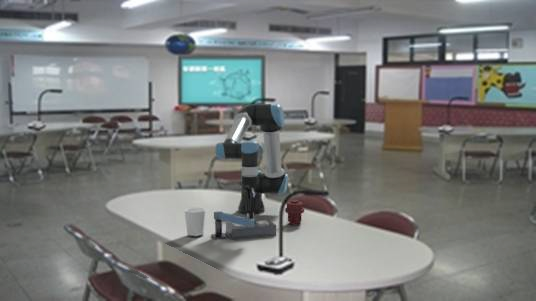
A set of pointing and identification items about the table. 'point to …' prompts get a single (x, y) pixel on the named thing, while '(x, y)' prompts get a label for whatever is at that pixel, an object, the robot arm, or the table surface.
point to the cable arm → (233, 219)
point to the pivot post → (218, 230)
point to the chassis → (251, 229)
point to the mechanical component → (294, 212)
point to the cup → (195, 221)
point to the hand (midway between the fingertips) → (250, 226)
